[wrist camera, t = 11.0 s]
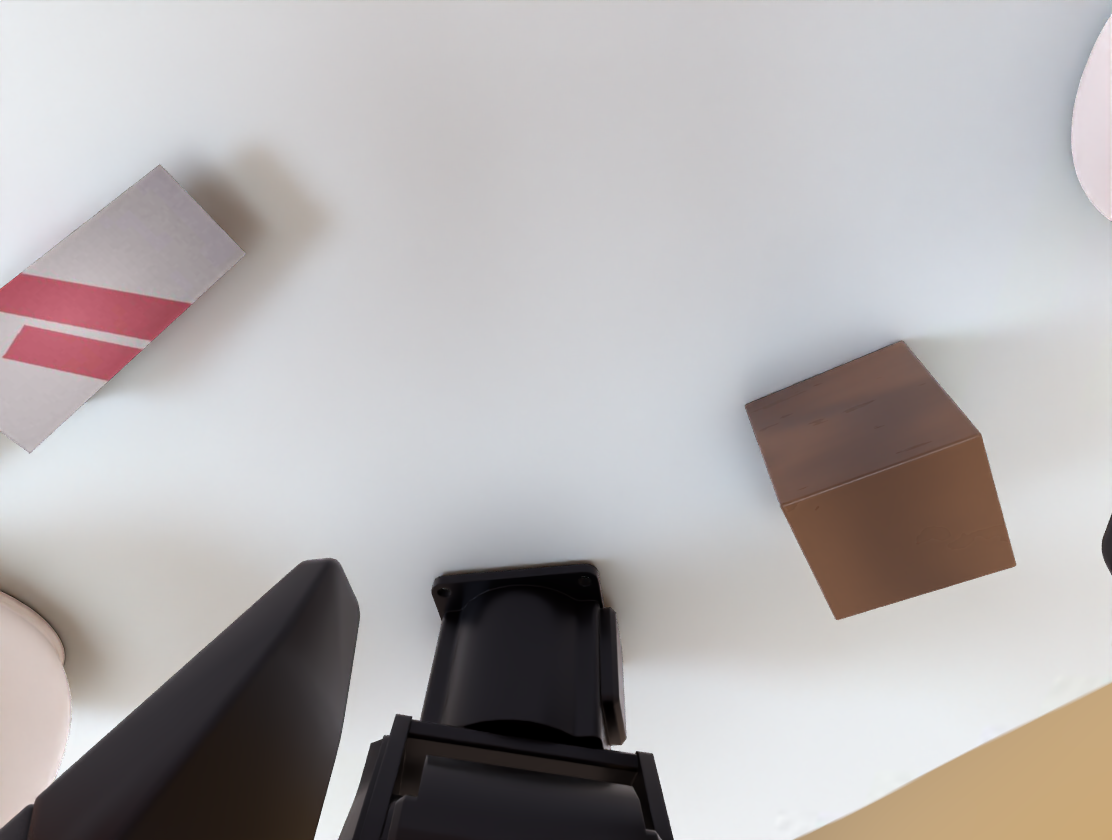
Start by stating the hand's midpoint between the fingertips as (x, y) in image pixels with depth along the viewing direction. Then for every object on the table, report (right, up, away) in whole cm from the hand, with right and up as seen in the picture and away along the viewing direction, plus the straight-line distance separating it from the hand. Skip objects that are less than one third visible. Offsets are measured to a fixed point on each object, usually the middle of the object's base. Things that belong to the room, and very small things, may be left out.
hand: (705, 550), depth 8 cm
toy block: (+8, +1, +14) cm, 16 cm away
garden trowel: (-19, +3, +14) cm, 24 cm away
